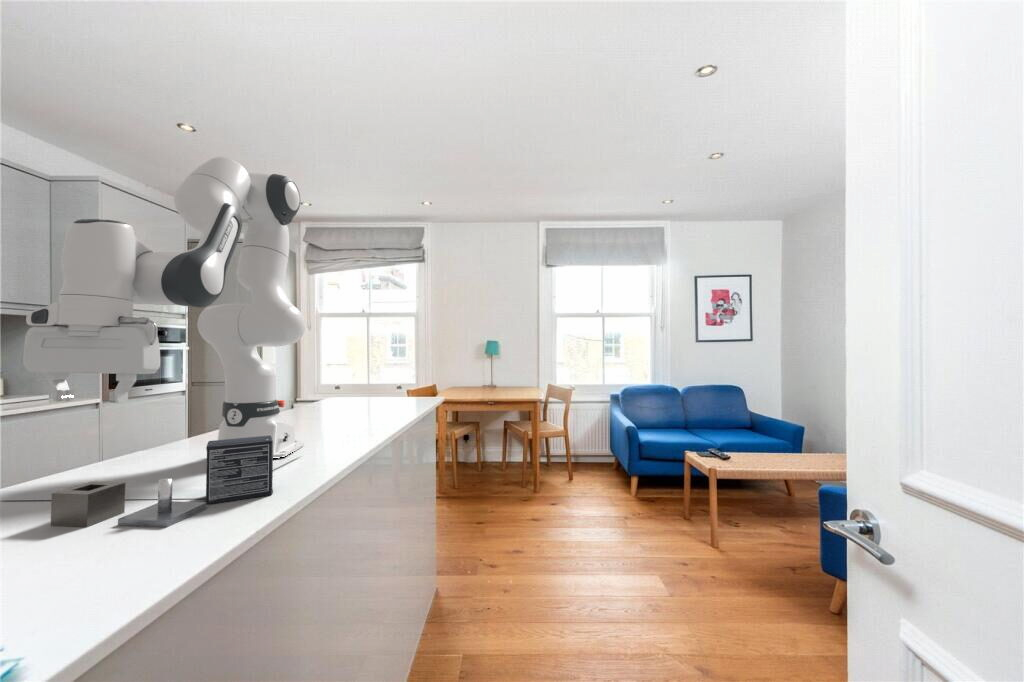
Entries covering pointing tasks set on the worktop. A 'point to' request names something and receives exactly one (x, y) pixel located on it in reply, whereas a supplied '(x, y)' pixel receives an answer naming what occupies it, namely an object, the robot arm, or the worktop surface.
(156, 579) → the worktop surface
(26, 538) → the worktop surface
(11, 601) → the worktop surface
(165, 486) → the shaft stand
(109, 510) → the collar
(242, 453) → the small box
